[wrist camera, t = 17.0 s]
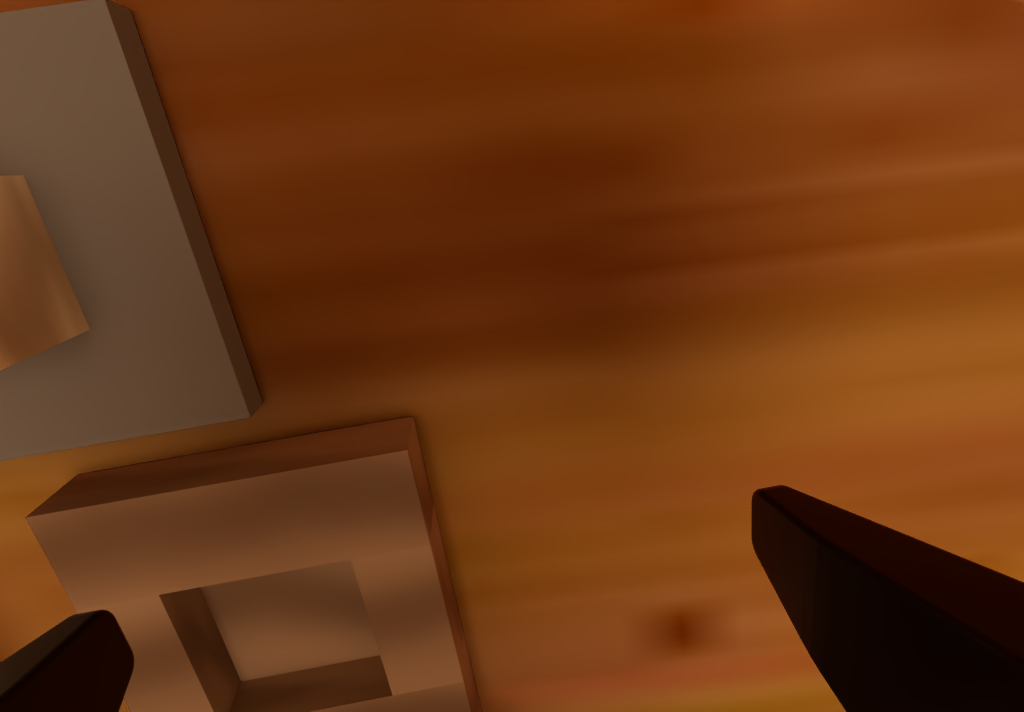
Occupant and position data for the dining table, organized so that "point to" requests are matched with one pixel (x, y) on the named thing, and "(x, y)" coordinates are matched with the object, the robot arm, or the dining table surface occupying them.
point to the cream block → (31, 280)
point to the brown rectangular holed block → (271, 575)
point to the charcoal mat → (111, 242)
